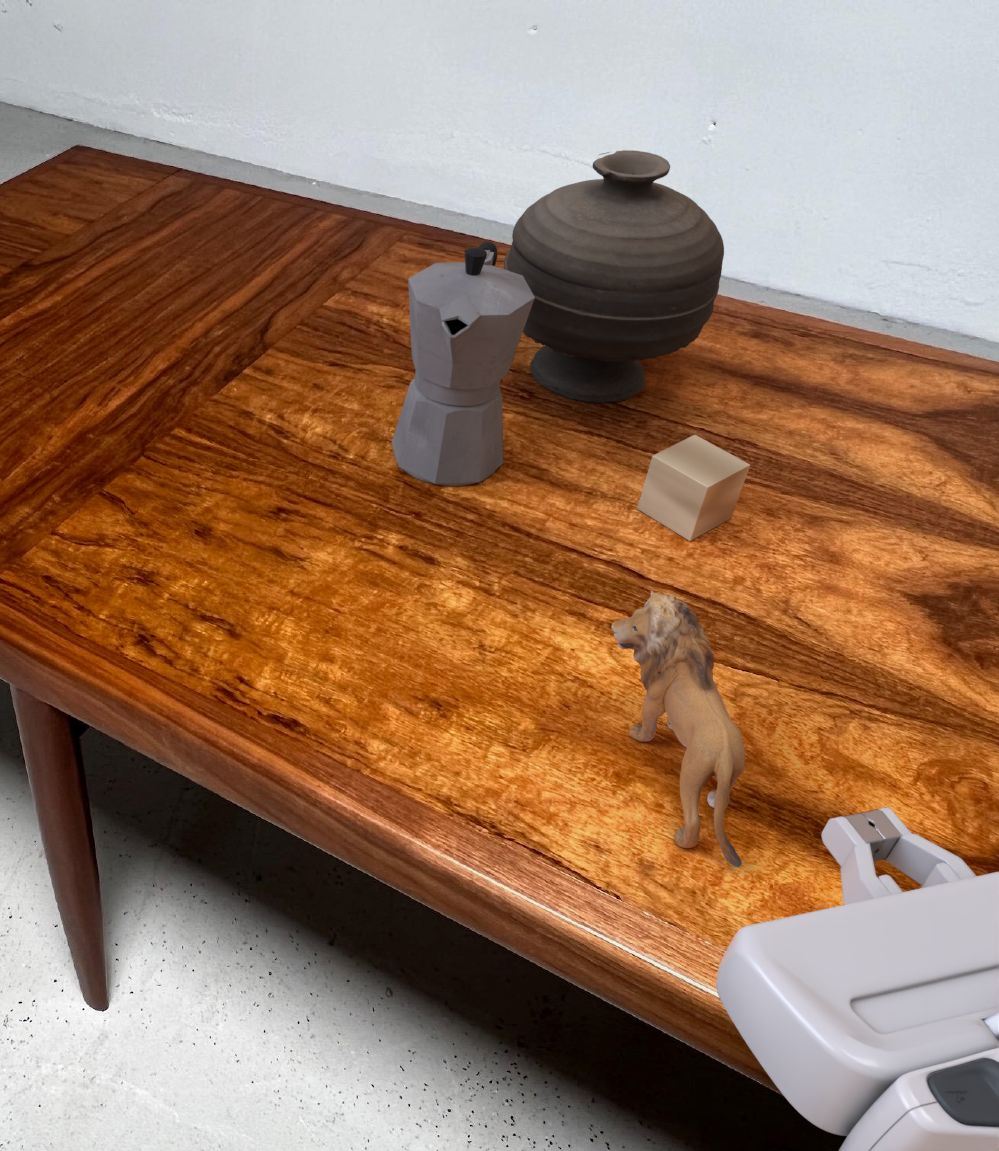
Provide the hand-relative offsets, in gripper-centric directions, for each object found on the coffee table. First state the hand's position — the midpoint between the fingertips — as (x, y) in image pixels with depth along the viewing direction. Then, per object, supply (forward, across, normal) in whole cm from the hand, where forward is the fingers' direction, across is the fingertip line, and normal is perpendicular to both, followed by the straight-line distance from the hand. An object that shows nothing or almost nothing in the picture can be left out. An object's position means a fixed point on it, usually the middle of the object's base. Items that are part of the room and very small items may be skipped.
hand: (852, 820), depth 53 cm
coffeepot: (+47, 0, +10) cm, 48 cm away
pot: (+56, -16, +10) cm, 59 cm away
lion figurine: (+12, 0, +10) cm, 16 cm away
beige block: (+35, -14, +10) cm, 39 cm away
